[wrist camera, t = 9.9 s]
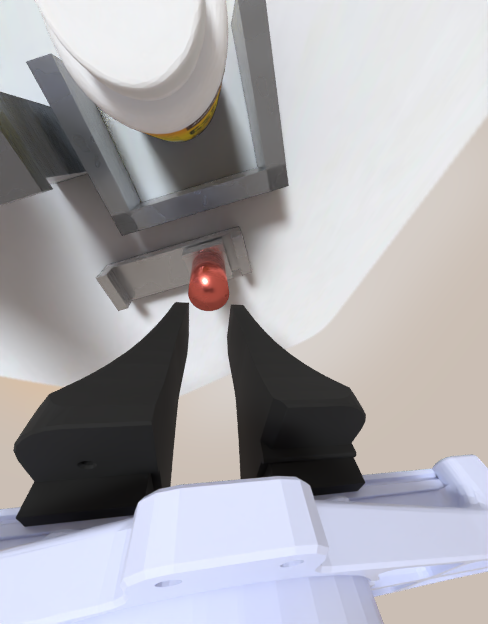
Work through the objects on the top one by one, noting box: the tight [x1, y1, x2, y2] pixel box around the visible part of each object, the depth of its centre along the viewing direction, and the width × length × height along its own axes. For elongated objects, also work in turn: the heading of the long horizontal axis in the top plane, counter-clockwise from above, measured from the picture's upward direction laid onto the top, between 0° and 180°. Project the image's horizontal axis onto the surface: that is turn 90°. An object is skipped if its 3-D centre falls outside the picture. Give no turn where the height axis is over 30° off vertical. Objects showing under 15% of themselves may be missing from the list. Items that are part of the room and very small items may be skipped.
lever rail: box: [96, 226, 252, 311], centre depth 19 cm, size 11×3×2 cm, turn 104°
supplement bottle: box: [35, 0, 228, 142], centre depth 9 cm, size 6×6×10 cm
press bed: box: [0, 0, 288, 236], centre depth 12 cm, size 15×8×8 cm, turn 104°
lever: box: [182, 239, 233, 311], centre depth 16 cm, size 3×3×5 cm
